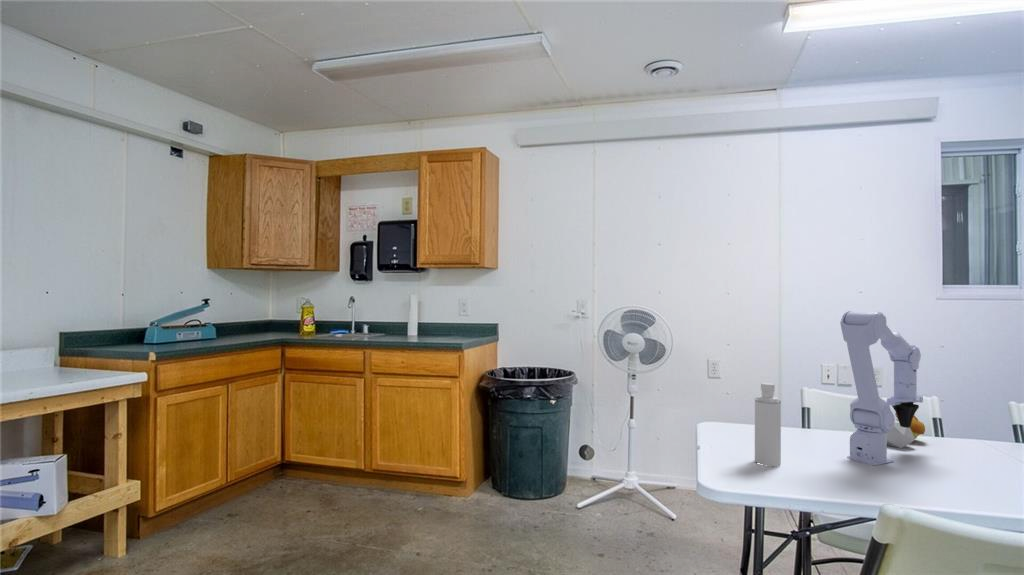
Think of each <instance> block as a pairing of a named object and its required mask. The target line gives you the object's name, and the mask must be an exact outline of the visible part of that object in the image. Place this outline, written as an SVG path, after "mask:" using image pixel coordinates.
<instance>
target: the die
mask: <svg viewBox="0 0 1024 575" xmlns="http://www.w3.org/2000/svg"><path fill="white" fill-rule="evenodd" d="M897 420H898V419H897ZM897 420H896V419H895V422H894V426H893V428H892V429H891V430H890V431H889V432H887V445H888V446H891V447H895V448H897V447H898V448H899V449H903V448H904V447H906V446H909V444H911V443H912V442H914V441H915V440H916V439H915V438H914V436H913V433H912V431H911V429H910V428H906V427H901V426H900V423H899V421H897Z"/></svg>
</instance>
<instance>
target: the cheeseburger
mask: <svg viewBox="0 0 1024 575" xmlns="http://www.w3.org/2000/svg"><path fill="white" fill-rule="evenodd" d="M894 413H895V414H894V416H895V417H896V419H895V420H897V421H899V420H898V416H897V414H896V412H894ZM910 429H911V431H912V433H913V436H914V438H915V440H916V439H917V438H918V437H919V436H920V435H924V434H925V431H926V425H925V424H924V423H923V422H921V421H919V419H918V418H917V417H916V415H914V416H913V419H912V422H911V426H910Z"/></svg>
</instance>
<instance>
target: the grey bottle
mask: <svg viewBox="0 0 1024 575" xmlns="http://www.w3.org/2000/svg"><path fill="white" fill-rule="evenodd" d="M775 386H776V385H775V383H771V382H761V383H760V391H761V395H759V396H757V397H756V398H754V463H755V462H757V463H760V464H763V465H767V466H779V467H781V466H780V465H781V464H782V461H781V460H782V451H781V450H782V438H781V437H782V434H781V433H782V432H781V431H782V424H781V423H782V419H781V418H782V412H781V411H782V408H781V407H782V406H781V405H782V403H781V402H782V401H781V400H780V399H779V398H778V397H776V396H774V395H775ZM757 463H756V464H757ZM767 466H766V467H767Z"/></svg>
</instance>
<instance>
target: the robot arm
mask: <svg viewBox="0 0 1024 575" xmlns="http://www.w3.org/2000/svg"><path fill="white" fill-rule="evenodd" d="M839 324H840V329H841V333H842V334H841V335H842V338H843V341H844V342H846V346H847V350H848V351H847V352H848V355H849V360H850V365H851V370H852V375H853V380H854V383H855V384H854V385H855V390H856V393H857V397H856V398H855V399H853V400H852V401H851V402H850V404H849V409H850V412H849V419H850V421H851V423H852V424H853V425H854V428H855V429H856V431H854V432H852V433H853V434H852V435H851V434H850V437H849V455H847V456H846V458H847V459H850V460H854V461H856V462H860V463H863V464H866V465H870V466H878V465H884V464H889V463H895V461H894V459H892V458H888V456H887V454H888V446H887V432H889V431H890V430H891V429H892V428H893V426H894V422H895V420H896V419H895V414H894V413H896V414H897V416H898V419H897V420H899V423H900V426H901V427H906V428H910V426H911V422H912V419H913V416H915V415H916V412H917V411H918V410H919V407H920V406H919V404H916V403H924V396H922V395H919V394H918V392H917V390H918V389H917V382H918V380H917V379H918V378H917V377H918V376H917V374H918V373H917V372H918V371H917V370H919V367H920V366H919V365H920V361H921V357H922V354H921V351H920V348H919V347H918V346H916V345H913V344H910V343H909V342H908V341H907V340H906V339H905V338H904V337H903V336H902V335H901V333H899V332H895V331H892V330H891V329H890V328H889V326H888V324H887V318H886V316H885V315H884V313H883V312H880V311H876V312H873V311H869V312H868V311H853V310H847V311H845V312H844V313H843V315H842V317H841V320H840V323H839ZM879 340H880V344H881V346H882V347H883V348H884V349H885V351H887V352H888V353H887V354H888V355H889V359H890V361H891V362H893V395H892V396H891V397H887V398H886V401H885V400H884V399H883V398H882V397H880V396H879V389H878V385H877V380H876V375H875V371H874V365H873V362H872V361H873V360H872V355H871V351H870V347H871V346H872V345H874V344H877V343H878V341H879ZM891 407H892V408H893V410H894V411H895V412H894V413H893V411H892V408H891Z"/></svg>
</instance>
